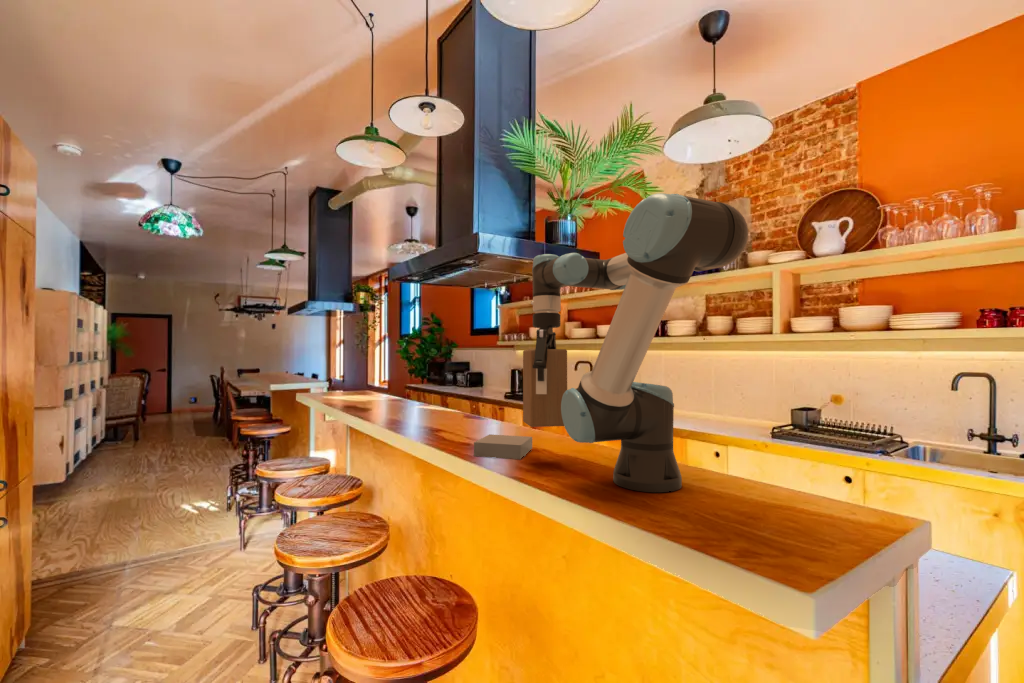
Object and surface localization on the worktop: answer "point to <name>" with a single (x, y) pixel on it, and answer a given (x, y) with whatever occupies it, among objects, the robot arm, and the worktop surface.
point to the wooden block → (547, 406)
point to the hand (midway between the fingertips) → (546, 392)
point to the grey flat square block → (503, 446)
